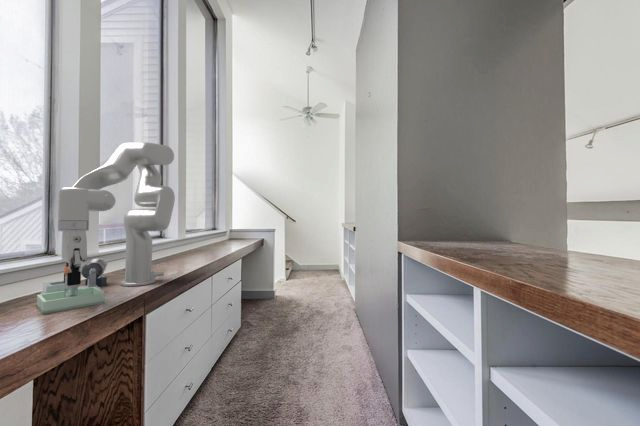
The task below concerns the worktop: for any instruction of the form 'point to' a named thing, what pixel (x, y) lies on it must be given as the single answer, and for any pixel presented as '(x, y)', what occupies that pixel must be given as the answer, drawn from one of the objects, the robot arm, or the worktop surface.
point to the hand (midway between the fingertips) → (72, 283)
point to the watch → (101, 280)
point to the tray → (69, 300)
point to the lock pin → (69, 290)
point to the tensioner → (88, 271)
